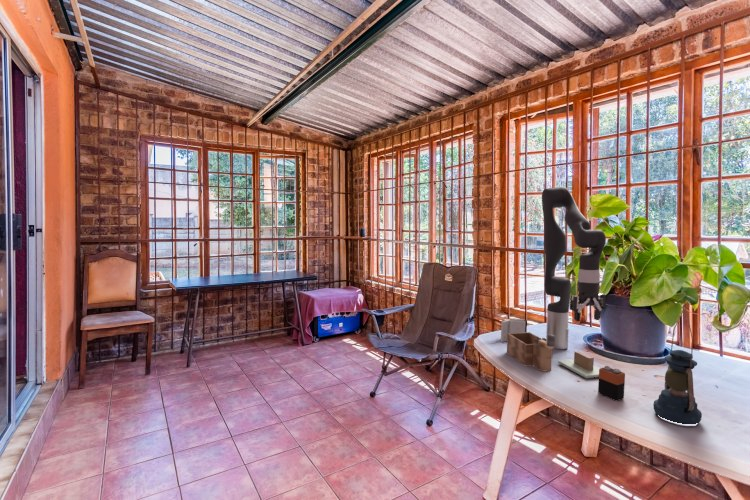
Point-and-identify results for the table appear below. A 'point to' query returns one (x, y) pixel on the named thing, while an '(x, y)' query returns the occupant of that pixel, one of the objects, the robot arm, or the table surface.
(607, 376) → the battery
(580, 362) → the lid
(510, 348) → the toolbox
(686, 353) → the lantern
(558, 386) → the table surface
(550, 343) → the bolt
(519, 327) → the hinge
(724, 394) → the table surface
